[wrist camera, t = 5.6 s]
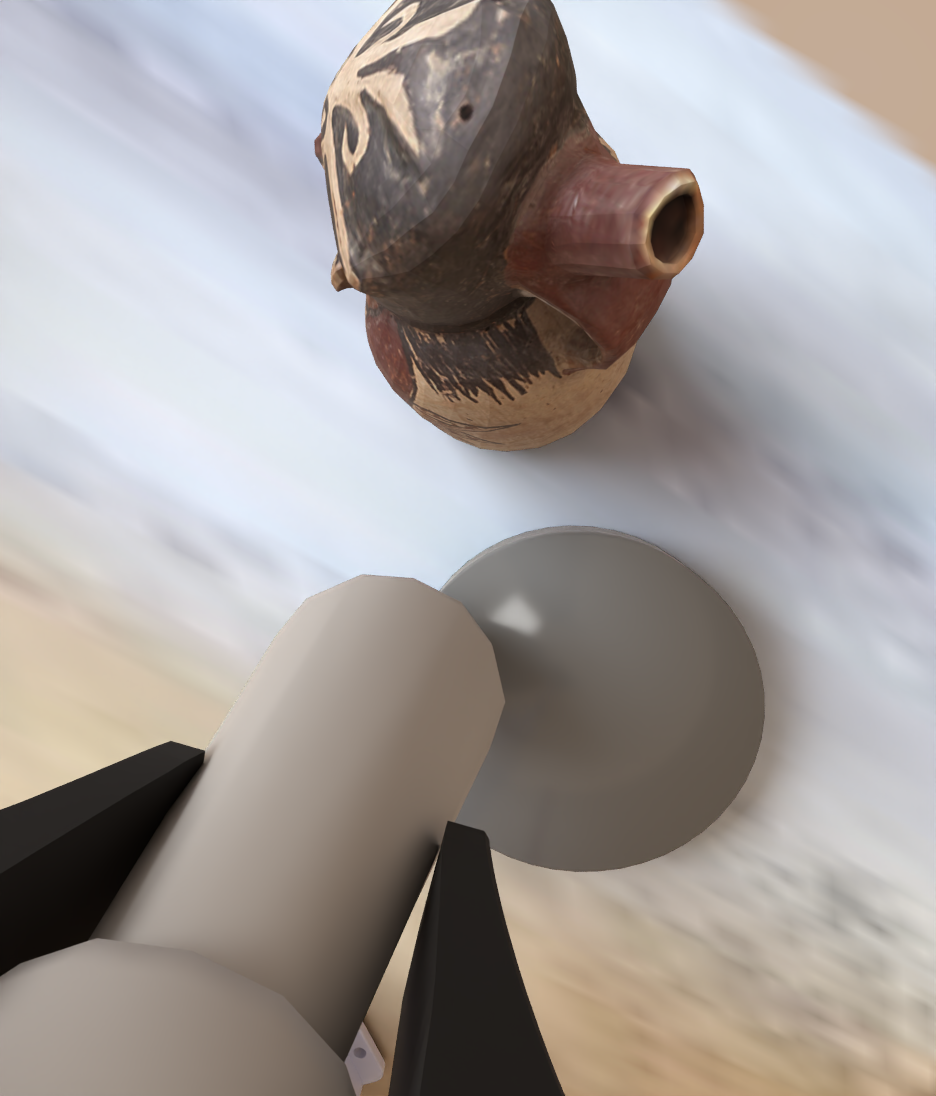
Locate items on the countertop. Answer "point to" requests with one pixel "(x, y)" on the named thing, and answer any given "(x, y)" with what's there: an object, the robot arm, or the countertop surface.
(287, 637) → the salt shaker
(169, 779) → the robot arm
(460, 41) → the figurine
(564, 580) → the coaster
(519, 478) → the countertop surface
